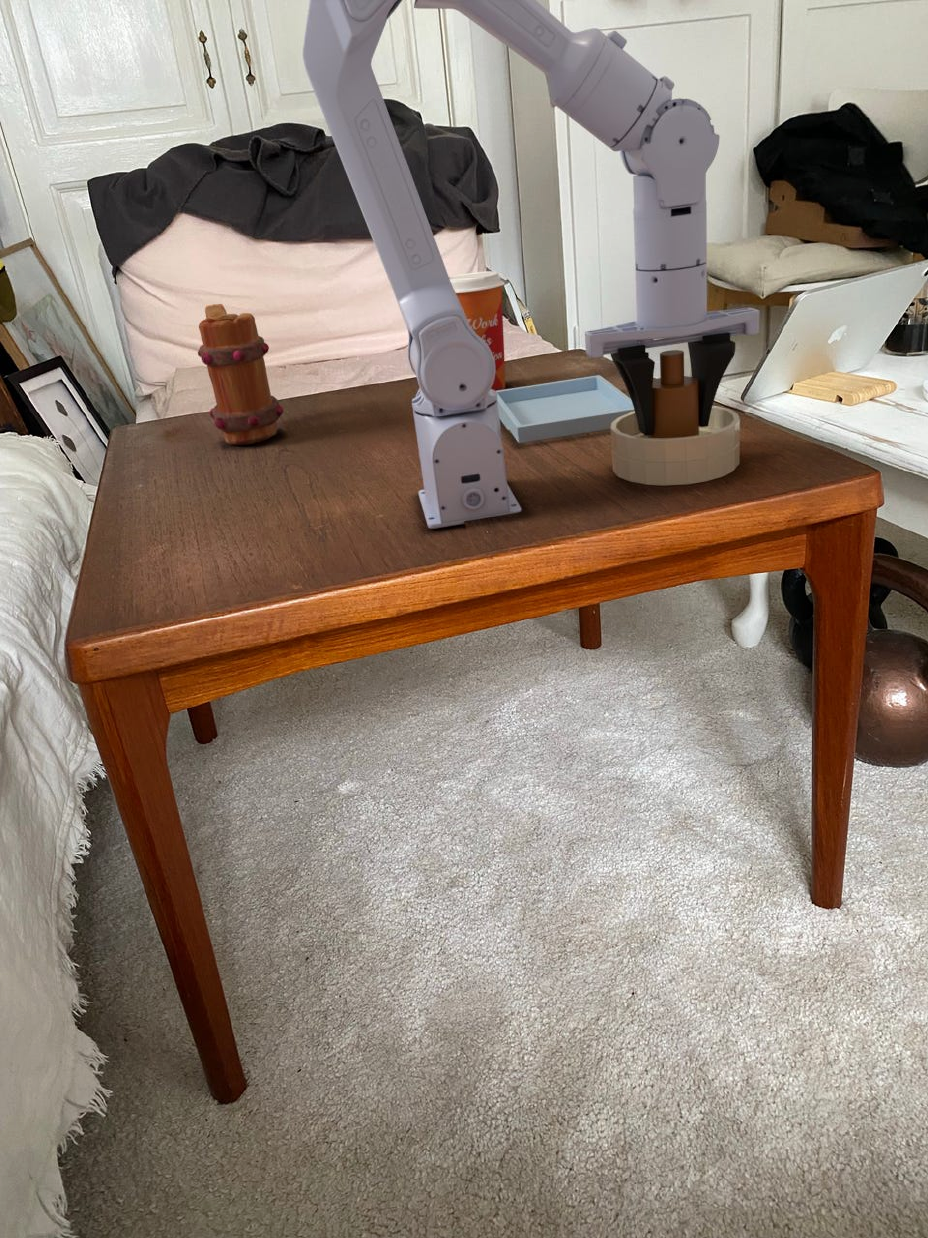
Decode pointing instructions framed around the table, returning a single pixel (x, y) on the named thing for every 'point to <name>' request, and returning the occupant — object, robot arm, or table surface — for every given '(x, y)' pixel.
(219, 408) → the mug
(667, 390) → the bottle
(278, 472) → the table surface
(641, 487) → the table surface
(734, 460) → the bowl
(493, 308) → the paper cup
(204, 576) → the table surface
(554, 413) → the tray
